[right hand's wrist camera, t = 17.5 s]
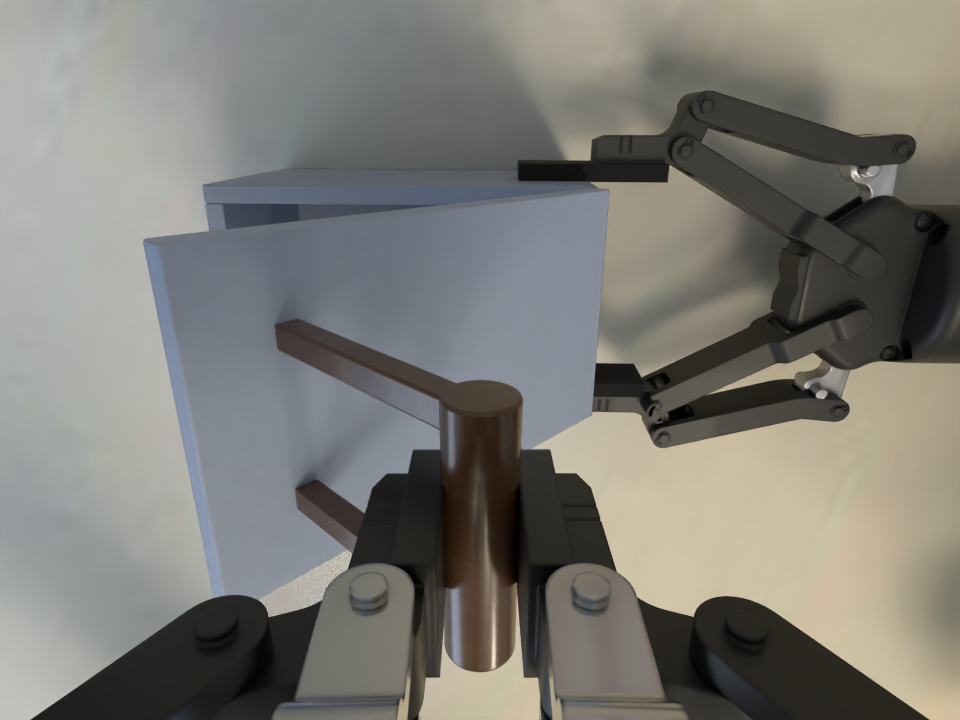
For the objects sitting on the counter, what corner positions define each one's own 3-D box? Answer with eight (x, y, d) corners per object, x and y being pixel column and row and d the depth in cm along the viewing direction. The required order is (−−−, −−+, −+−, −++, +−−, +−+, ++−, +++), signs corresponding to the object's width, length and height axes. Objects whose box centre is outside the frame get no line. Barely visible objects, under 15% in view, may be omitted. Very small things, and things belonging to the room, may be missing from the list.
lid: (213, 599, 16) (407, 835, 11) (141, 238, 13) (374, 321, 7) (576, 409, 27) (761, 479, 22) (591, 187, 24) (816, 206, 18)
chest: (303, 331, 37) (235, 401, 28) (285, 168, 34) (201, 184, 24) (561, 335, 37) (582, 407, 27) (570, 170, 33) (598, 187, 24)
